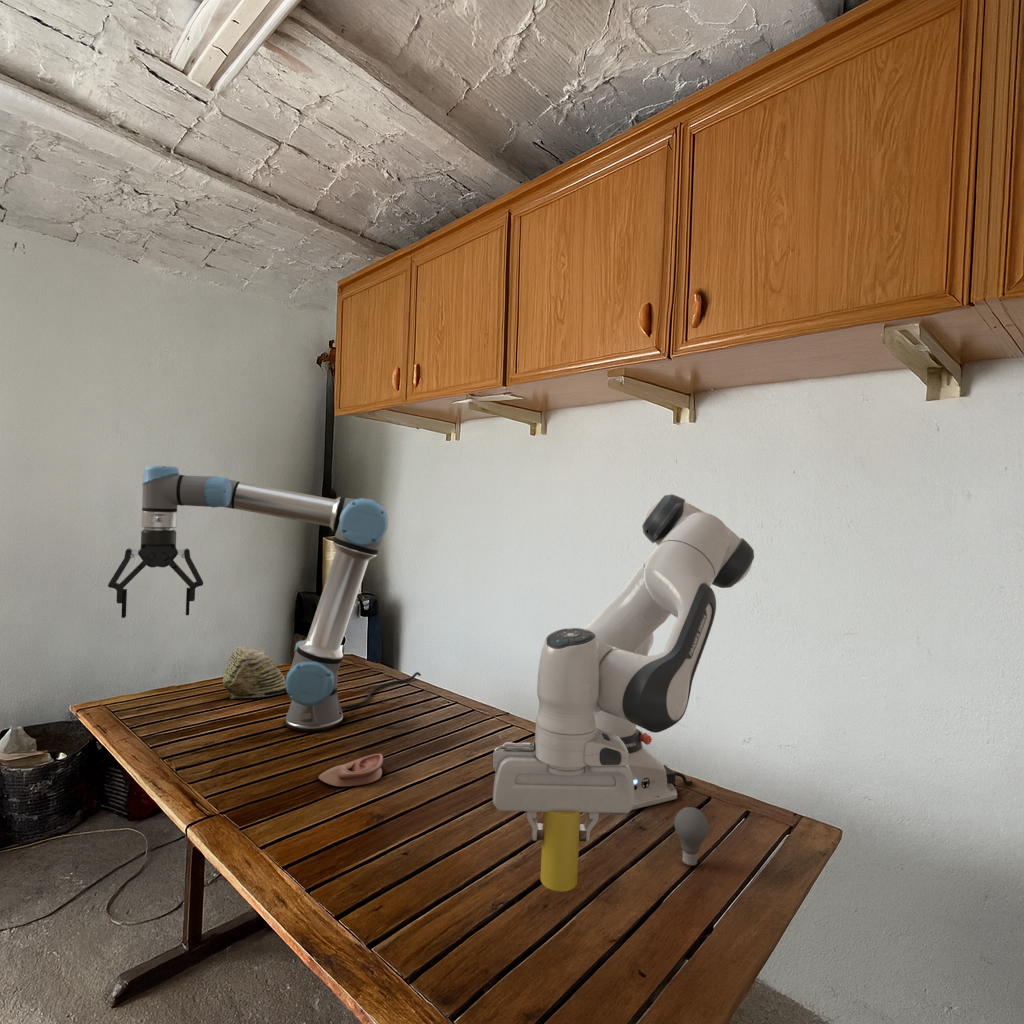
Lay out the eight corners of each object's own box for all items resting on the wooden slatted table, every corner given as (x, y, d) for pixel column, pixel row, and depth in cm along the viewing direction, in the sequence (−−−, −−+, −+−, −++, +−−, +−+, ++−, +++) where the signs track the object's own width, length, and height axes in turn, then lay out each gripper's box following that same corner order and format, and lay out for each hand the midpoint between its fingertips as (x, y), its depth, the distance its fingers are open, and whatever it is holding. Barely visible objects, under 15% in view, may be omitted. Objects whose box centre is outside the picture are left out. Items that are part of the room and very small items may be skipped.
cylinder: (561, 896, 87) (564, 818, 87) (532, 879, 91) (536, 804, 91) (584, 881, 91) (588, 806, 91) (556, 865, 95) (559, 793, 95)
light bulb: (667, 854, 117) (670, 800, 117) (699, 854, 118) (702, 801, 117) (679, 873, 111) (681, 817, 111) (712, 873, 112) (715, 817, 111)
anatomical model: (312, 765, 139) (336, 745, 151) (311, 783, 139) (336, 762, 151) (368, 773, 137) (389, 752, 148) (367, 791, 137) (388, 769, 148)
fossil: (218, 695, 195) (220, 647, 195) (278, 685, 208) (279, 640, 207) (228, 703, 189) (230, 653, 188) (289, 692, 201) (290, 645, 201)
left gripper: (96, 529, 146) (93, 620, 146) (215, 530, 157) (212, 616, 157) (100, 527, 152) (97, 614, 153) (214, 529, 164) (212, 610, 164)
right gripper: (493, 750, 87) (489, 850, 87) (640, 754, 88) (635, 852, 88) (492, 733, 93) (488, 826, 94) (629, 737, 94) (625, 828, 95)
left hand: (156, 615), depth 155 cm, fingers open, 13 cm apart
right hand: (560, 839), depth 91 cm, fingers closed on cylinder, 5 cm apart
